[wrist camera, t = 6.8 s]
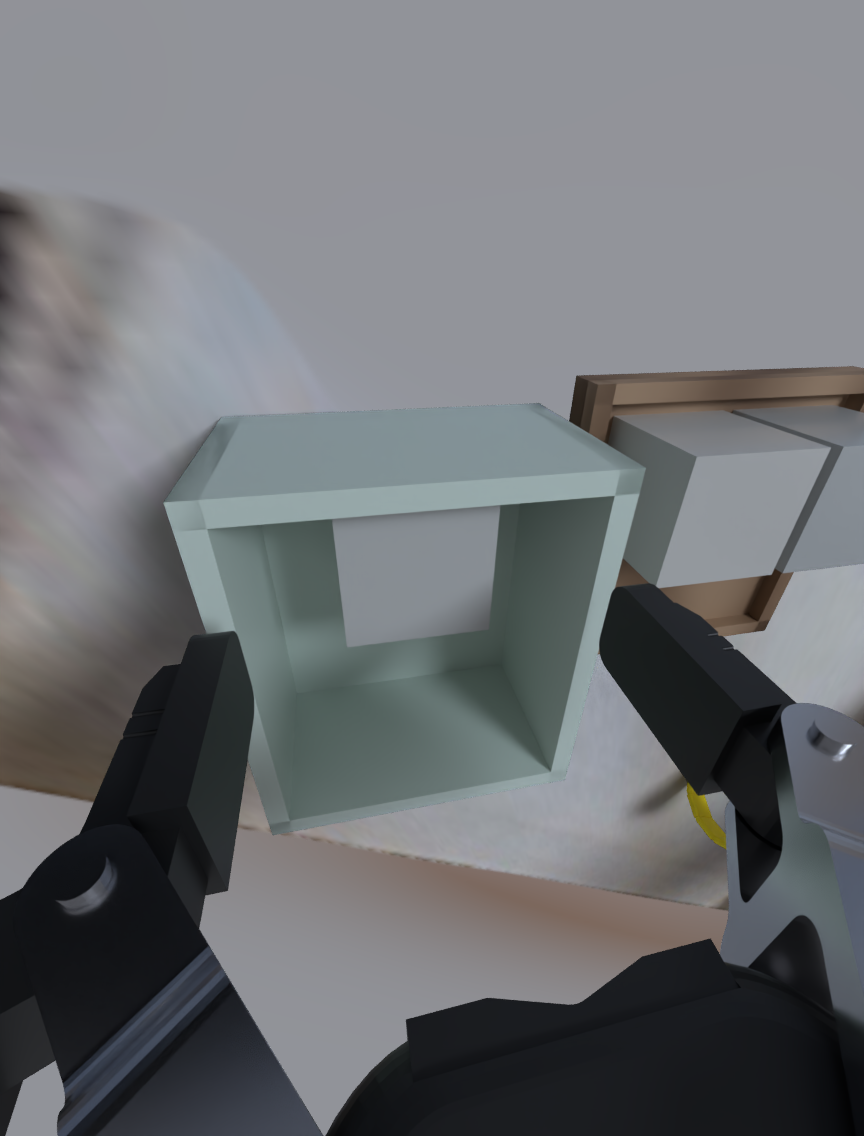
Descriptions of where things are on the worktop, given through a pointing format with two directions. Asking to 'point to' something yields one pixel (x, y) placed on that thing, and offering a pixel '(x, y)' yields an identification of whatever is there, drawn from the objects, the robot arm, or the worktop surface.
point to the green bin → (417, 666)
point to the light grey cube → (713, 494)
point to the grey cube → (416, 573)
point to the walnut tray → (655, 393)
